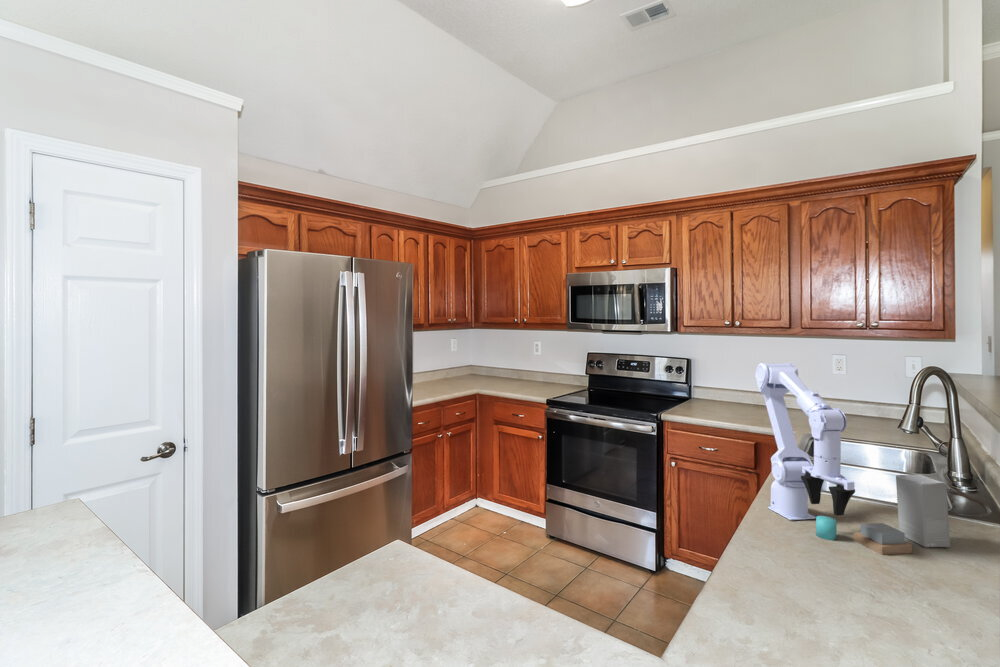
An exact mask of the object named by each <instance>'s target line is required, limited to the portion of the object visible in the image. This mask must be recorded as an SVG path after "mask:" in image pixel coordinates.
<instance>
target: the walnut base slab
mask: <svg viewBox="0 0 1000 667" xmlns="http://www.w3.org/2000/svg"><path fill="white" fill-rule="evenodd" d="M852 533H853V537H852V540H853V541H854V542H856V543H858V544H860V545H862V546H864V547H866V548H868V549H870V550H872V551H873V552H875V553H878V554H880V555H882V556H885V555H898V554H910V553H912V551H913V550H912V548H913V546H912V543H910V542H907V541H905V543H901V544H884V545H882V544H880V543H878V542H876V541H874V540H872V539H870V538H868V537H866V536H864V535H862V534H861V531H856V532H854V531H853V532H852Z"/></svg>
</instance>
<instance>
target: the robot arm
mask: <svg viewBox="0 0 1000 667" xmlns="http://www.w3.org/2000/svg"><path fill="white" fill-rule="evenodd" d="M754 376H755V381H756V383H757V388H758V391H759V393H761V394H762V396H763V399H764V402H765V406H766V410H767V415H768V418H769V421H770V425H771V429H772V431H773V436H774V441H775V443H776V446H777V451H776V452H775V453H774V454H773V455H772V456H771V457H770V462H771V474H772V476H773V478H774V480H773V481H772V483H771V485H770V506H767V508H768V509H769V510H771V511H773V512H775V513H776V514H778V515H780V516H782V517H784V518H785V519H788V520H789V521H799V520H800V521H802V520H815V519H816V517H817V516H814V515H813V514H812V513H811V514H810V513H809V502H810V504H811V505H820V503H821V495H822V488H823V485H824V481H826V482H828V483H831V484H832V485H835V486H828V489H829V492H830V495H831V498H832V510H833V514H834V516H843V515H844V514H845V511H846V508H847V505H848V503H849V501H850V499H851V498H852V497H853V495H854V494H855V493H856V489H855V481H852V480H850V479H849V478H847V477H845V476H844V475H842V474H841V460H842V459H841V458H842V456H841V453H842V451H841V449H842V446H841V445H842V443H841V442H842V432H844V431H845V430H846V429H847V424H848V421H847V420H848V419H847V417H846V415H845V412H843V411H842V409H841V408H835V407H831V406H830V405H829V404H828V403H827V402H826V401H825V399H824V398H823V397H822V396H821V395H820V394H819V392H817V391H815V390H809V389H808V387H807V386H806V385H805V383H804V382H803V381H802V380H801V378H800V377H799V369H798V368H797V367H796V365H795V364H794V363H792V362H785V363H783V362H782V363H781V362H780V363H777V362H776V363H765V362H761V363H758V365H757V366H756V370H755V374H754ZM788 393H791V394H792V395H793V396H794V397H795V398H796V405H797V407H799V408H800V410H802V412H803V413H804V414H805V415H806V417H807V418H808V424H809V426H810V430H811V436H812V438H813V462H812V460H811V457H810V455H809V454H808V453H807V452H806V451H804V450H802V449H800V448H799V445H798V442H797V439H796V436H795V432H794V428H793V425H792V423H791V418H790V416H789V411H788V408H787V405H786V400H785V398H784V396H785V395H786V394H788Z"/></svg>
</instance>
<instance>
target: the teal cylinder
mask: <svg viewBox="0 0 1000 667" xmlns="http://www.w3.org/2000/svg"><path fill="white" fill-rule="evenodd" d="M815 517H816V520H815V535H816V536H817V537H818V538H820V539H822V540H827V541H835V540H837V530H838V529H837V526H838V525H837V523H838V521H837V519H836V518H834V517H830V516H827V515H817V516H815Z"/></svg>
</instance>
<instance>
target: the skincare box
mask: <svg viewBox="0 0 1000 667" xmlns="http://www.w3.org/2000/svg"><path fill="white" fill-rule="evenodd" d="M895 485H896V498H897V499H896V500H897V501H896V503H897V518H898V530H899V531H901V532H904V533H905V538H906V539H908V540H910V541H912V542H914V543H916V544H918V545H919V546H921V547H924V548H950V546H951V537H950V522H949V509H948V508H949V506H948V492H947V490H948V489H947V482H944V481H940V480H937V479H933V478H931V477H928V476H925V475H923V474H900V475H899V474H898V475H895Z"/></svg>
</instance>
